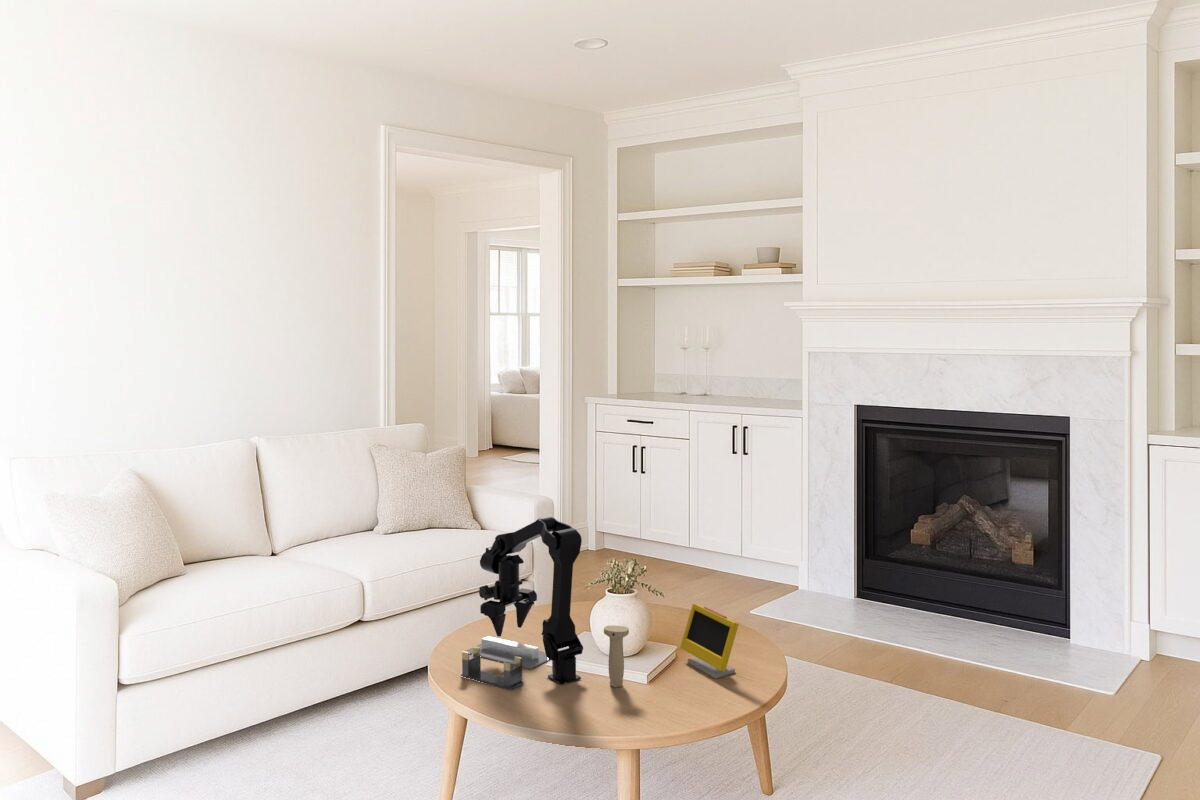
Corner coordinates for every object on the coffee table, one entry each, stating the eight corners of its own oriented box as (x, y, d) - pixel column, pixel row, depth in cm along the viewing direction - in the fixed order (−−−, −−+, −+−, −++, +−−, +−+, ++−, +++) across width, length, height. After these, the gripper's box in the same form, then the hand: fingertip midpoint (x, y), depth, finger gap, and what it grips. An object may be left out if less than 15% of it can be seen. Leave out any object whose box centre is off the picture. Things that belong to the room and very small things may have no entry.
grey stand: (523, 684, 245) (523, 658, 244) (511, 690, 240) (511, 663, 240) (473, 671, 254) (473, 645, 253) (461, 677, 250) (460, 651, 249)
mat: (557, 656, 265) (557, 655, 265) (530, 669, 255) (530, 668, 255) (490, 641, 278) (490, 639, 278) (463, 652, 268) (463, 651, 268)
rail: (538, 657, 263) (538, 647, 263) (532, 661, 261) (531, 650, 260) (488, 645, 273) (488, 635, 273) (481, 648, 270) (481, 638, 270)
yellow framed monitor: (679, 659, 263) (680, 604, 262) (703, 655, 266) (703, 600, 265) (720, 683, 245) (721, 624, 244) (745, 678, 249) (746, 619, 248)
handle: (607, 680, 247) (607, 624, 246) (631, 683, 245) (631, 627, 244) (601, 687, 243) (601, 630, 242) (625, 690, 241) (625, 632, 239)
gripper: (507, 566, 277) (507, 618, 278) (464, 580, 262) (465, 635, 263) (537, 571, 271) (538, 624, 272) (496, 586, 256) (496, 643, 257)
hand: (509, 631), depth 266 cm, fingers open, 9 cm apart
